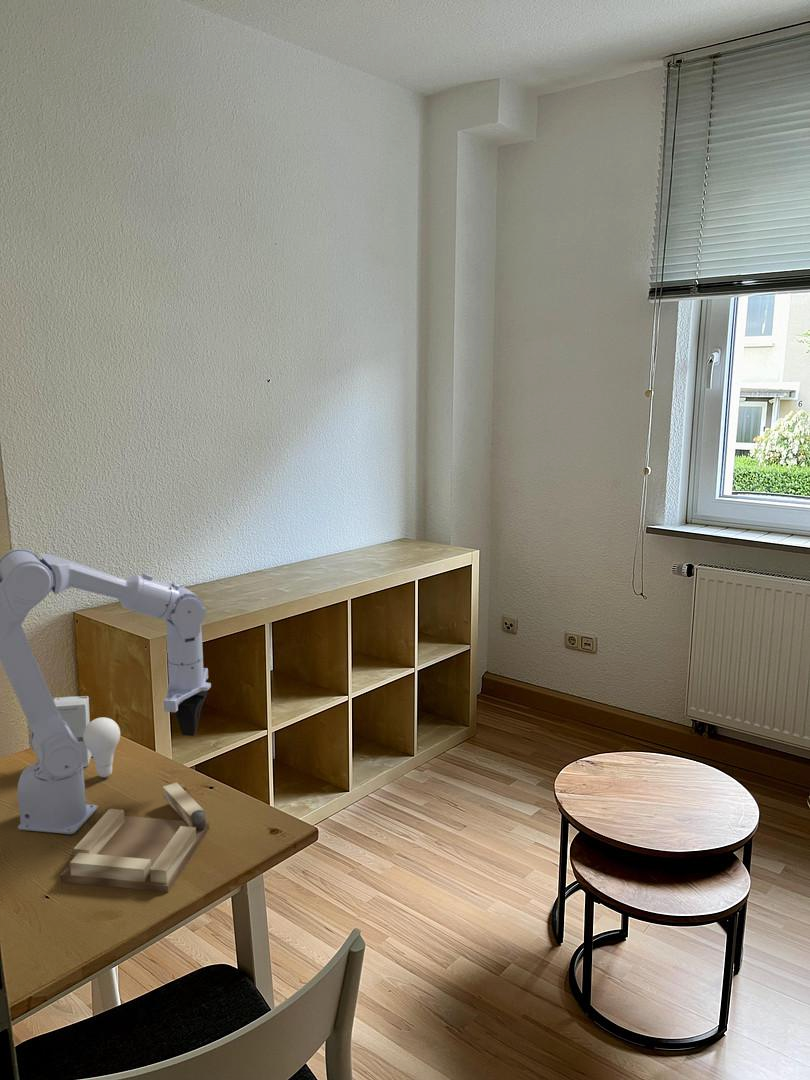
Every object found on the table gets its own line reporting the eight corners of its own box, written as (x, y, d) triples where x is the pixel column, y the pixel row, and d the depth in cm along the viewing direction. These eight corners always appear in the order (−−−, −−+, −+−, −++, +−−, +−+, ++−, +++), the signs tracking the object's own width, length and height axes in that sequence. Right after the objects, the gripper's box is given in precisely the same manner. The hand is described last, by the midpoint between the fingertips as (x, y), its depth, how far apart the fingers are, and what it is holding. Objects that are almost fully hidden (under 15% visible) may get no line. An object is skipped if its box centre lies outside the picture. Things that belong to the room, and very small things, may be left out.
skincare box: (53, 770, 151) (47, 707, 149) (58, 758, 156) (52, 697, 153) (89, 767, 153) (84, 704, 150) (93, 755, 157) (88, 694, 154)
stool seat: (60, 881, 120) (58, 862, 119) (113, 820, 136) (112, 803, 135) (168, 892, 118) (166, 873, 117) (209, 828, 134) (208, 811, 133)
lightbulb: (111, 787, 146) (107, 728, 143) (79, 783, 147) (74, 724, 144) (129, 770, 152) (125, 713, 149) (98, 766, 153) (94, 710, 150)
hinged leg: (209, 826, 132) (208, 813, 131) (194, 831, 130) (194, 818, 130) (177, 793, 142) (176, 781, 141) (163, 797, 140) (162, 785, 140)
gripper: (191, 676, 134) (195, 755, 137) (223, 645, 148) (226, 717, 151) (149, 674, 135) (154, 752, 138) (184, 643, 149) (188, 714, 152)
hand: (189, 733), depth 145 cm, fingers closed
